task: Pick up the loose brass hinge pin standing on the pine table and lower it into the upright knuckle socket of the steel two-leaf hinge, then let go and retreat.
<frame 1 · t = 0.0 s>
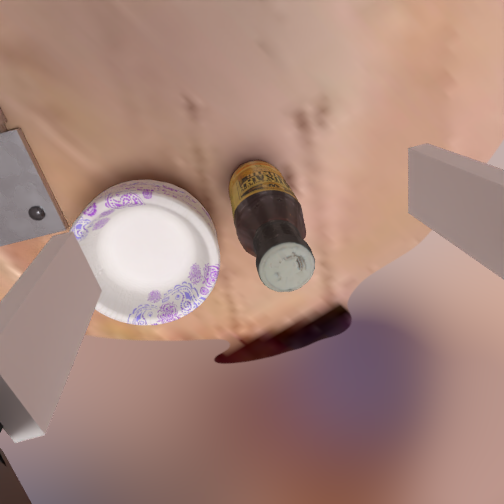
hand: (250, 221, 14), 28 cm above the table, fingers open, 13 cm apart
sauce bottle: (252, 183, 43), on the table
paper bowls: (152, 233, 44), on the table
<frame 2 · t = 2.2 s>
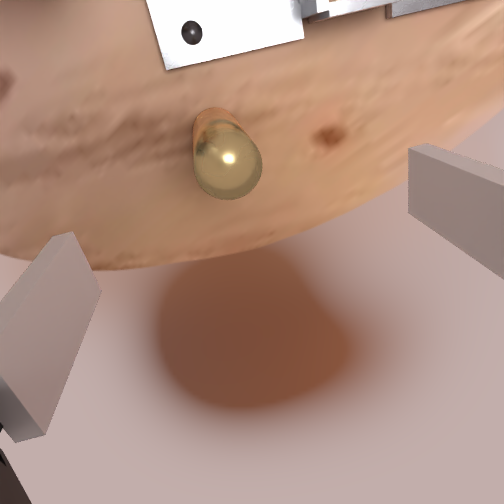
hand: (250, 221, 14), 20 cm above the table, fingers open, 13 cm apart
hinge pin: (215, 132, 32), on the table
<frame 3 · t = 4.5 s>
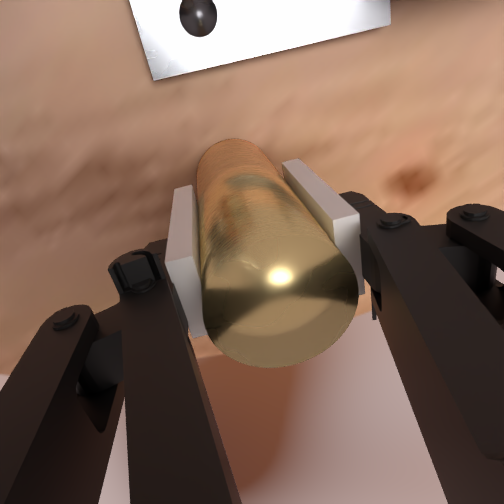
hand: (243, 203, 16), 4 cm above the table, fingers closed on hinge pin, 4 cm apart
hinge pin: (234, 177, 20), on the table, touching gripper
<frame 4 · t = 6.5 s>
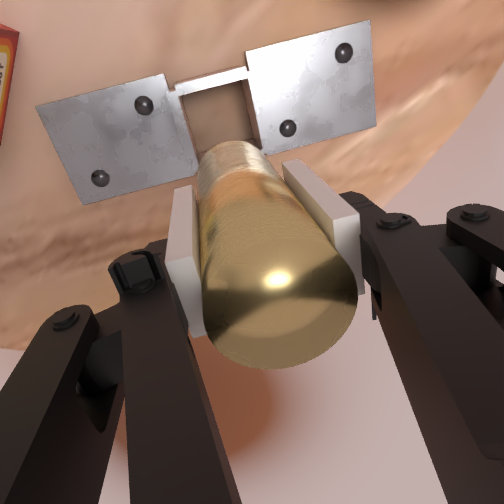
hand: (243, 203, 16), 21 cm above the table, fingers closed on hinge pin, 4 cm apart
hinge pin: (234, 178, 20), point 17 cm above the table, touching gripper
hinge: (218, 115, 34), on the table
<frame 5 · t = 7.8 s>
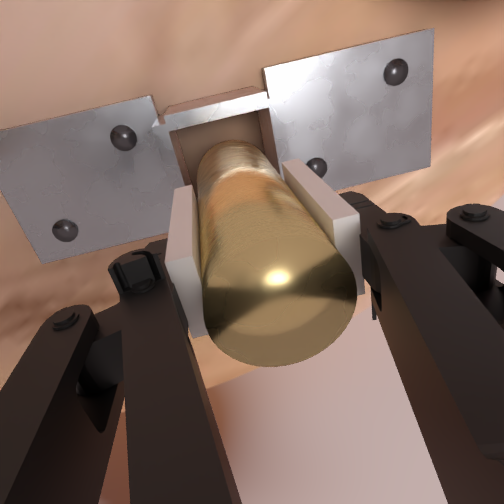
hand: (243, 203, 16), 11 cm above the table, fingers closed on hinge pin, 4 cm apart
hinge pin: (234, 177, 20), point 7 cm above the table, touching gripper
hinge: (223, 150, 26), on the table
when the fingers open (7 cm above the table, at t = 8.9 s): hinge pin drops 2 cm, resting in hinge.
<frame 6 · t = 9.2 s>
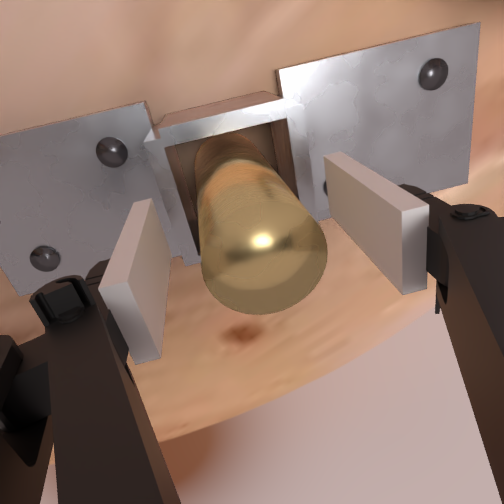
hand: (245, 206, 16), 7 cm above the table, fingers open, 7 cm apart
hinge pin: (228, 166, 22), resting in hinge
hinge: (230, 165, 22), on the table
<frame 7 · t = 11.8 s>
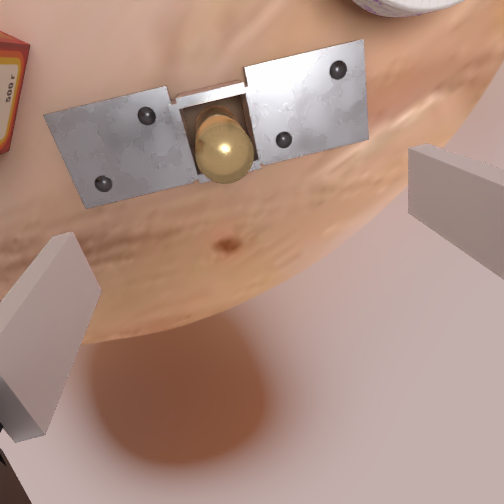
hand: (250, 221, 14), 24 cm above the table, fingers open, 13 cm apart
hinge pin: (216, 127, 36), resting in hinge
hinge: (217, 126, 36), on the table
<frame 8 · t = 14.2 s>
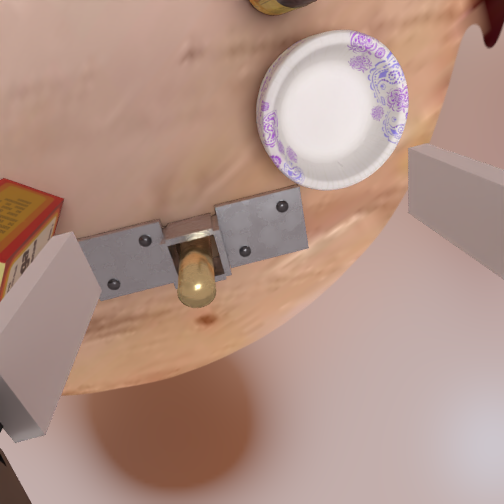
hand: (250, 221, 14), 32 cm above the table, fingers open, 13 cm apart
hinge pin: (195, 243, 49), resting in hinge
baking soda box: (26, 222, 45), on the table
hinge: (196, 242, 49), on the table
paper bowls: (314, 109, 44), on the table
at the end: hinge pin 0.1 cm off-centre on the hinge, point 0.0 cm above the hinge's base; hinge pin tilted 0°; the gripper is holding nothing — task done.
